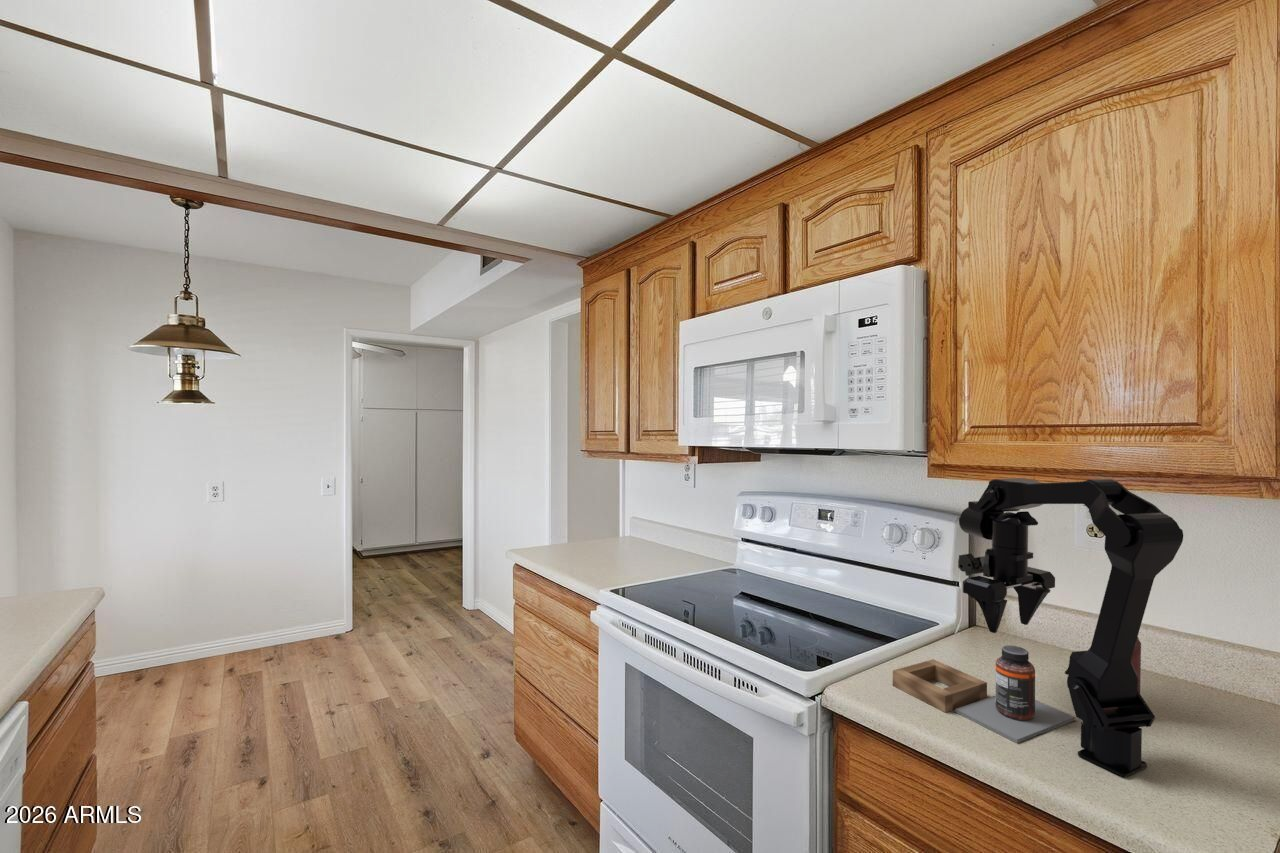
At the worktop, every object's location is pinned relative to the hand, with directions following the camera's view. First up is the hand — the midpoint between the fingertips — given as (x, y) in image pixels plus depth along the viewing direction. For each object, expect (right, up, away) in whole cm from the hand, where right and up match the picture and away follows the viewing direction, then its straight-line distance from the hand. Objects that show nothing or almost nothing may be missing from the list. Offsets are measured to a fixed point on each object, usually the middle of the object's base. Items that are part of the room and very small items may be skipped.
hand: (1008, 628), depth 111 cm
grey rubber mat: (-3, -13, -7) cm, 15 cm away
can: (+16, -13, -5) cm, 21 cm away
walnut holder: (-12, -13, +2) cm, 18 cm away
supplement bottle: (-3, -13, -7) cm, 15 cm away
